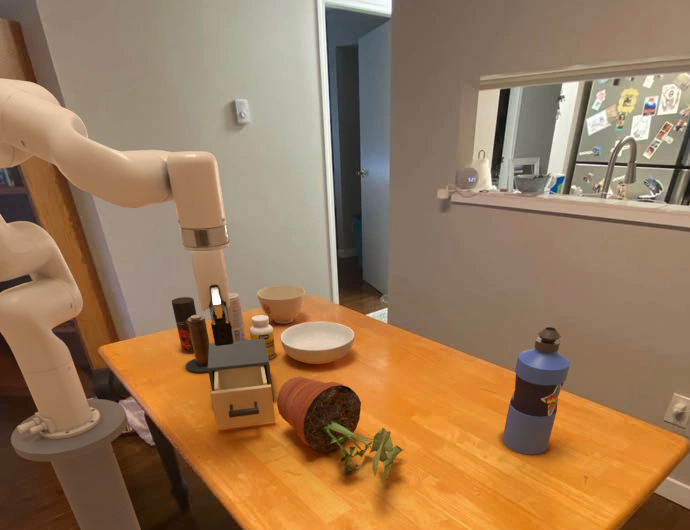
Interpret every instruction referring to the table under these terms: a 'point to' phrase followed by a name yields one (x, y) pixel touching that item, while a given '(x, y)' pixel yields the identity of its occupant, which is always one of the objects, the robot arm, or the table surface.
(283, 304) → the bowl
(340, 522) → the table surface
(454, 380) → the table surface
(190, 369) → the mat
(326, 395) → the potted plant
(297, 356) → the serving bowl
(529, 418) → the water bottle
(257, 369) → the drawer
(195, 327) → the pepper mill
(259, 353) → the cabinet
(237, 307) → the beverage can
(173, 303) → the deodorant
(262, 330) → the pill bottle
